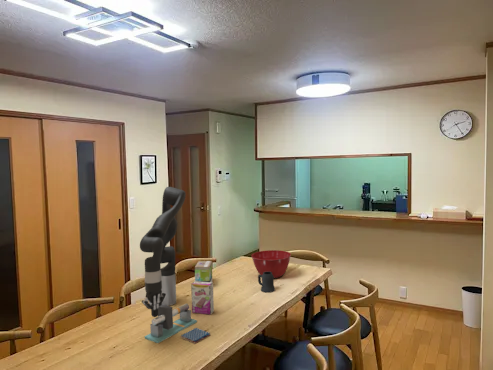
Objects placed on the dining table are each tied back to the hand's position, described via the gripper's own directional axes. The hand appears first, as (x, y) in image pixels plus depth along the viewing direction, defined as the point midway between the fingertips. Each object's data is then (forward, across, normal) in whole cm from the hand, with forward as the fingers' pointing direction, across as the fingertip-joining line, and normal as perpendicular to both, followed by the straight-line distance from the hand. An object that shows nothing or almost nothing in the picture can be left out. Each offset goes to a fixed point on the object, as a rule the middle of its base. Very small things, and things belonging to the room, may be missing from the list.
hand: (154, 316), depth 168 cm
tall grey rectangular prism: (+7, -6, 0) cm, 10 cm away
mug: (+11, -82, +10) cm, 83 cm away
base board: (+10, -10, 0) cm, 14 cm away
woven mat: (+11, -11, +15) cm, 22 cm away
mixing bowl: (+11, -109, -2) cm, 110 cm away
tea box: (+11, -69, -31) cm, 76 cm away
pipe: (+10, -10, 0) cm, 14 cm away
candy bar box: (+11, -34, -1) cm, 36 cm away
